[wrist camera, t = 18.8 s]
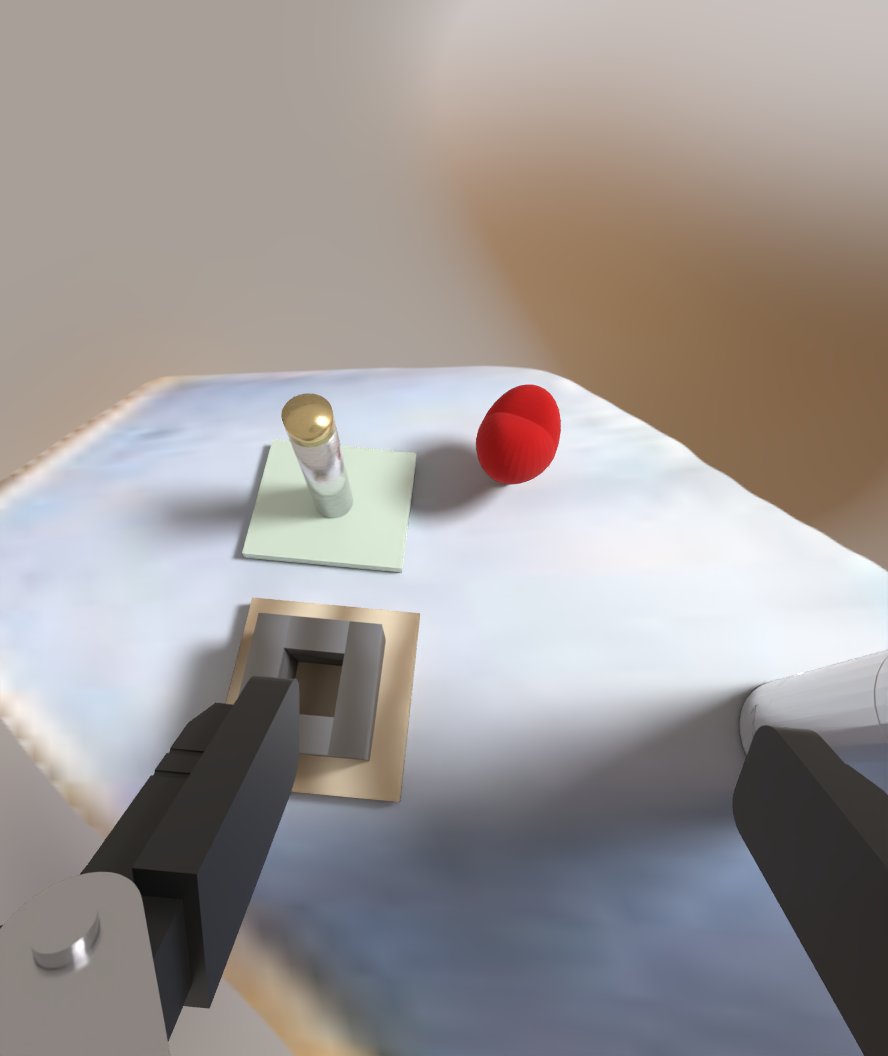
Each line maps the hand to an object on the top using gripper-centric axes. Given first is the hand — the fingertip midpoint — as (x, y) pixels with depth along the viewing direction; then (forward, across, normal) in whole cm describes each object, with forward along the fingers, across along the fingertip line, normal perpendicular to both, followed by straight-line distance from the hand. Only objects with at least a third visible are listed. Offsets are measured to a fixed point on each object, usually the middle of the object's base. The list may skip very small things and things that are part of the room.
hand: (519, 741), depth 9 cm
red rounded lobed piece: (+44, -4, +6) cm, 44 cm away
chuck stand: (+28, +10, +21) cm, 36 cm away
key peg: (+39, +12, +8) cm, 42 cm away
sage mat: (+40, +12, +9) cm, 43 cm away
